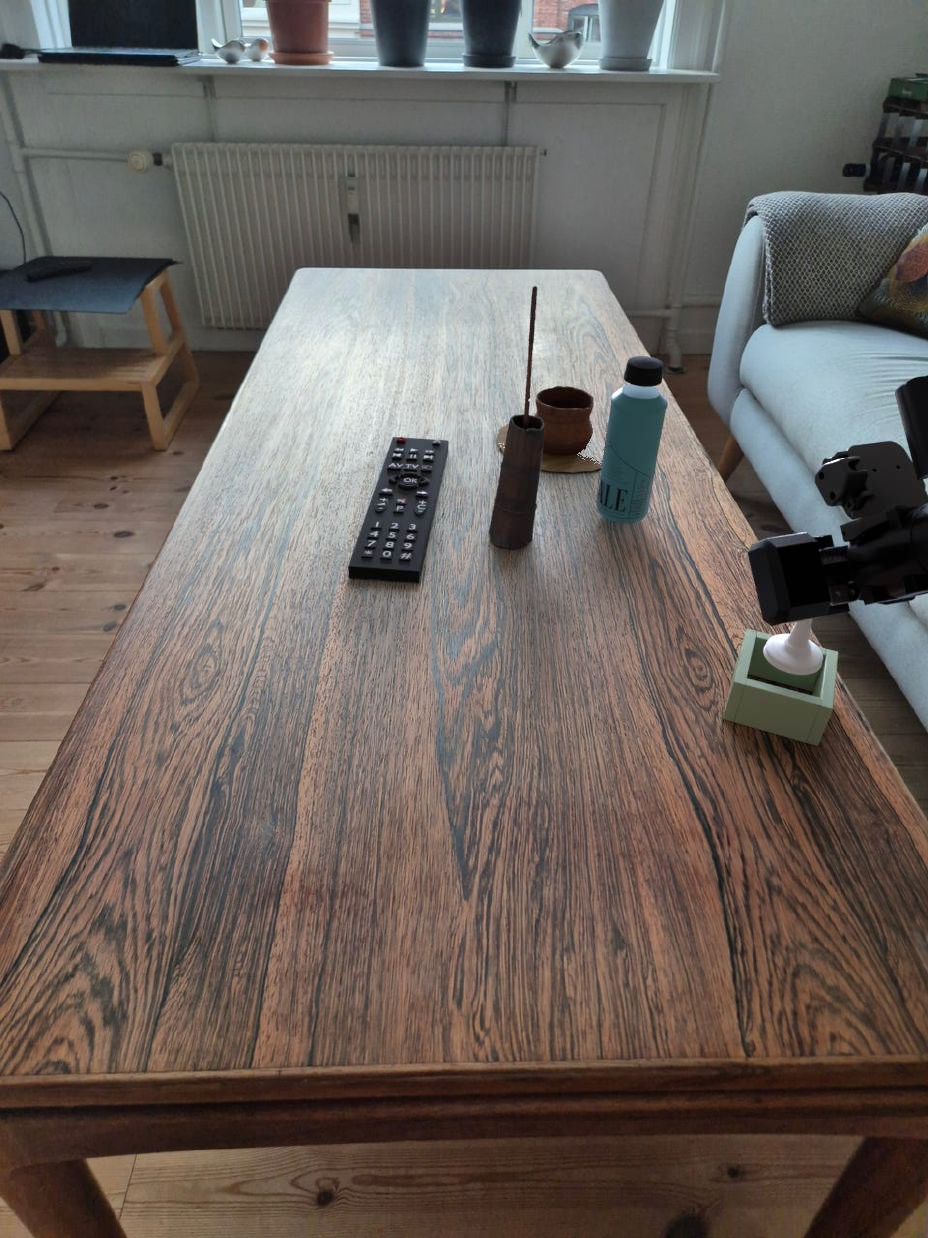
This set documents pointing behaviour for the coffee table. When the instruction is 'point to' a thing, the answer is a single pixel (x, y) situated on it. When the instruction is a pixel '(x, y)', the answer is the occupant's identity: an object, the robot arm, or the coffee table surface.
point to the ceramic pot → (563, 429)
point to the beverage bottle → (632, 443)
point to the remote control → (401, 512)
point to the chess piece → (794, 651)
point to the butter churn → (519, 469)
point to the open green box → (780, 694)
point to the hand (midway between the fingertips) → (803, 586)
